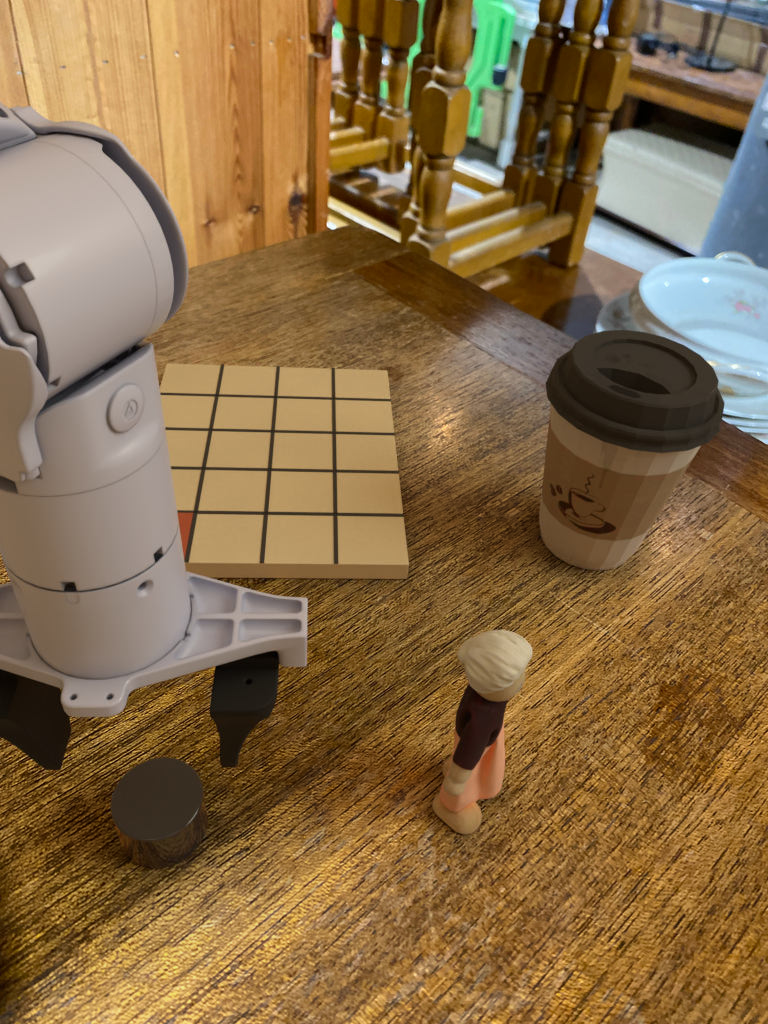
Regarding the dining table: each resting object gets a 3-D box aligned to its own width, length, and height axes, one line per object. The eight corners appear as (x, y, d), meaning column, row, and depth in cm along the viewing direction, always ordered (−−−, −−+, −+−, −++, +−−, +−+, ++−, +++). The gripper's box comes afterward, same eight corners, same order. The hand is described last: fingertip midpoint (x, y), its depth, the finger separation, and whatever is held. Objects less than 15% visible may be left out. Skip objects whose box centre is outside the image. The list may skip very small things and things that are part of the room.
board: (113, 577, 53) (109, 560, 52) (168, 377, 71) (166, 362, 70) (407, 579, 54) (409, 563, 53) (386, 383, 73) (387, 369, 72)
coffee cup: (486, 549, 57) (524, 373, 47) (546, 471, 65) (590, 305, 55) (634, 617, 53) (711, 441, 43) (680, 526, 61) (754, 357, 51)
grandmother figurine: (495, 859, 40) (547, 720, 32) (421, 845, 40) (454, 703, 32) (502, 731, 46) (548, 584, 37) (438, 719, 46) (469, 571, 38)
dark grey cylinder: (111, 870, 38) (101, 842, 36) (128, 787, 42) (119, 757, 40) (202, 867, 39) (197, 840, 37) (212, 785, 42) (207, 756, 40)
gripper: (-196, 621, 23) (-54, 838, 32) (305, 622, 24) (305, 830, 33) (-98, 469, 28) (0, 693, 37) (309, 476, 29) (307, 691, 38)
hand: (145, 748), depth 35 cm, fingers open, 7 cm apart
